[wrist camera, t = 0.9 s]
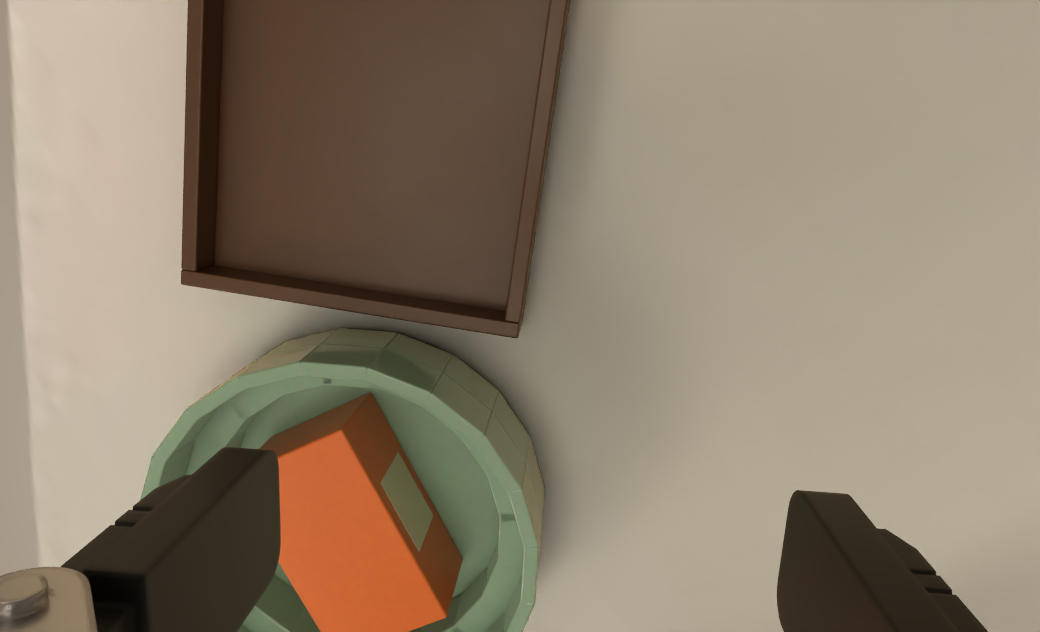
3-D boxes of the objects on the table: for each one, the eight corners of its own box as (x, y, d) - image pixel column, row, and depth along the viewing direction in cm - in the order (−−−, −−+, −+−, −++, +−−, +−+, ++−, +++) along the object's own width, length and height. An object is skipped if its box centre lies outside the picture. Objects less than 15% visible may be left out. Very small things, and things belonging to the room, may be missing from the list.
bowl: (331, 251, 30) (283, 275, 25) (617, 479, 31) (623, 543, 26) (142, 505, 33) (68, 569, 28) (405, 698, 35) (376, 790, 30)
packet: (270, 436, 31) (226, 479, 28) (372, 390, 30) (341, 428, 27) (364, 597, 33) (336, 660, 29) (464, 559, 32) (448, 618, 28)
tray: (220, -168, 26) (191, -191, 24) (587, -119, 26) (588, -139, 24) (205, 274, 30) (180, 284, 28) (521, 325, 30) (517, 339, 28)
